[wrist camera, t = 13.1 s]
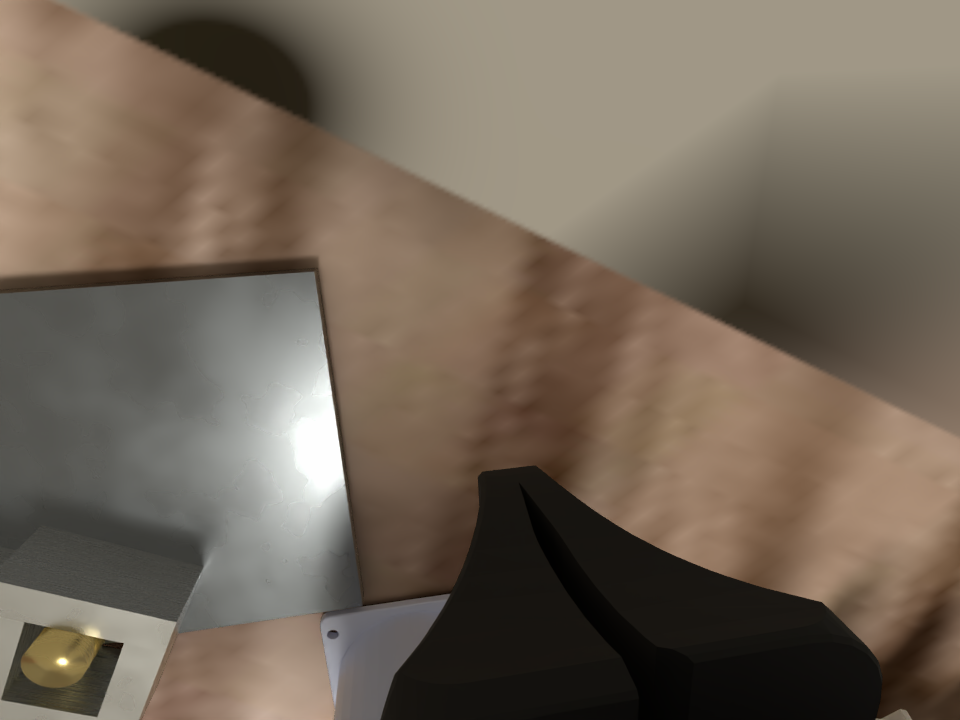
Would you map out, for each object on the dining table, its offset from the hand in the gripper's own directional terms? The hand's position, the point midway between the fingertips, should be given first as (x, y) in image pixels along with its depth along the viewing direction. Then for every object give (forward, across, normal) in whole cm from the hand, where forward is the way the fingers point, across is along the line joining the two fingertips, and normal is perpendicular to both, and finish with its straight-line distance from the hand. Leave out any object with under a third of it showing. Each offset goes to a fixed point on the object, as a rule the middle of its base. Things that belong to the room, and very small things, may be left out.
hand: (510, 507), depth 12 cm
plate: (+10, +16, +3) cm, 20 cm away
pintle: (+10, +15, +8) cm, 20 cm away
